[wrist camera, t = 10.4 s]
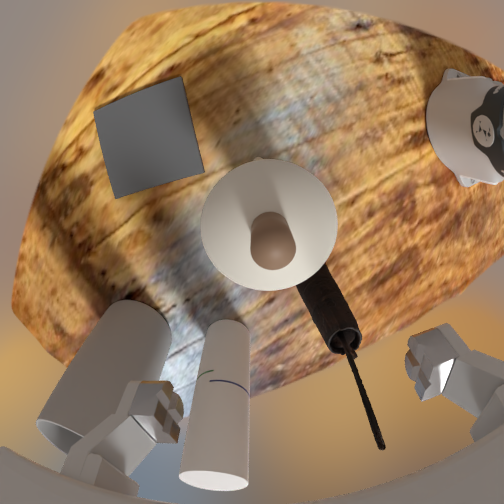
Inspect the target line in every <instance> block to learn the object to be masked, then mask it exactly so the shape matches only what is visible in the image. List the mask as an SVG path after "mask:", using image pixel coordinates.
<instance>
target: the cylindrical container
mask: <svg viewBox="0 0 504 504" xmlns="http://www.w3.org/2000/svg"><path fill="white" fill-rule="evenodd" d="M249 403H250V332H249V330H248V329H247V328H246V326H244V325H243V324H242V323H240V322H238V321H235V320H230V319H224V320H219V321H216V322H214V323H213V324H211V325H210V326H209V328H208V330H207V333H206V338H205V342H204V347H203V352H202V356H201V361H200V366H199V371H198V376H197V381H196V386H195V391H194V396H193V401H192V406H191V411H190V416H189V423H188V427H187V433H186V438H185V443H184V449H183V455H182V460H181V466H180V473H179V478H180V479H181V480H182V481H183V482H185V483H187V484H190V485H192V486H195V487H198V488H202V489H208V490H217V491H232V490H238V489H242V488H245V487H246V486H248V477H249V472H248V471H249Z"/></svg>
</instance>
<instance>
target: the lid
mask: <svg viewBox="0 0 504 504" xmlns="http://www.w3.org/2000/svg"><path fill="white" fill-rule="evenodd" d="M337 227H338V223H337V213H336V208H335V205H334V203H333V200H332V198H331V196H330V194H329V192H328V191H327V189H326V188H325V186H324V185H323V184H322V183H321V182H320V181H319V180H318V178H316V177H315V176H314V175H313V174H311V173H310V172H309V171H307V170H305V169H304V168H302V167H300V166H298V165H296V164H293V163H291V162H287V161H283V160H277V159H262V160H255V161H251V162H248V163H245V164H243V165H240V166H238V167H236V168H235V169H233V170H231V171H230V172H228V173H227V174H226V175H225V176H224V177H222V178H221V180H220V181H219V182H218V183H217V184H216V185H215V186H214V188H213V189H212V191H211V192H210V194H209V196H208V197H207V199H206V201H205V204H204V207H203V210H202V215H201V226H200V229H201V238H202V242H203V245H204V248H205V251H206V253H207V255H208V257H209V259H210V260H211V262H212V263H213V264H214V266H215V267H216V268H217V269H218V270H219V271H220V272H221V273H222V274H223V275H224V276H226V277H227V278H228V279H230V280H232V281H233V282H235V283H237V284H239V285H241V286H244V287H247V288H251V289H256V290H264V291H272V290H281V289H285V288H289V287H292V286H295V285H297V284H299V283H301V282H303V281H305V280H307V279H308V278H309V277H311V276H312V275H313V274H315V273H316V272H317V271H318V270H319V269H320V268H321V267H322V265H323V264H324V263H325V262H326V260H327V259H328V257H329V255H330V253H331V251H332V249H333V246H334V244H335V240H336V236H337Z"/></svg>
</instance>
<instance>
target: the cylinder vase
mask: <svg viewBox="0 0 504 504" xmlns="http://www.w3.org/2000/svg"><path fill="white" fill-rule="evenodd" d="M171 342H172V335H171V331H170V328H169V326H168V324H167V322H166V321H165V319H164V318H163V317H162V316H161V315H160V314H159V313H158V312H157V311H156V310H154V309H153V308H151V307H150V306H148V305H146V304H144V303H141V302H138V301H134V300H121V301H118V302H115V303H113V304H112V305H111V306H109V308H108V309H107V310H106V312H105V313H104V314H103V316H102V317H101V319H100V320H99V321H98V323H97V324H96V326H95V327H94V329H93V330H92V331H91V333H90V334H89V336H88V337H87V339H86V340H85V342H84V343H83V345H82V346H81V348H80V349H79V351H78V352H77V354H76V355H75V357H74V358H73V360H72V361H71V363H70V365H69V366H68V368H67V369H66V371H65V372H64V374H63V376H62V378H61V379H60V381H59V382H58V384H57V386H56V387H55V389H54V391H53V392H52V394H51V396H50V397H49V399H48V401H47V403H46V404H45V406H44V408H43V410H42V411H41V413H40V415H39V417H38V419H37V420H36V426H37V428H38V429H39V431H40V432H41V433H42V435H43V436H44V437H45V438H46V439H47V440H48V441H49V442H50V443H52V444H53V445H54V446H55V447H57V448H58V449H59V450H60V451H62V452H63V453H65V454H66V455H68V453H69V450H70V448H71V446H73V445H74V444H75V443H76V442H78V441H79V440H80V439H81V438H83V437H84V436H85V435H86V434H88V433H89V432H90V431H91V430H93V429H94V428H95V427H96V426H98V425H99V424H100V423H101V422H103V421H104V420H105V419H106V418H108V417H109V416H110V415H111V414H115V413H116V411H117V408H118V406H119V403H120V401H121V399H122V396H123V394H124V391H125V389H126V387H127V384H128V383H129V382H130V381H159V379H160V376H161V373H162V370H163V367H164V364H165V361H166V358H167V355H168V352H169V349H170V346H171Z"/></svg>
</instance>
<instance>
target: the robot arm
mask: <svg viewBox="0 0 504 504" xmlns="http://www.w3.org/2000/svg"><path fill="white" fill-rule="evenodd" d="M426 121H427V130H428V134H429V138H430V141H431V144H432V146H433V149H434V151H435V153H436V154H437V156H438V157H439V159H440V160H441V161H442V163H443V164H444V165H445V166H447V167H448V168H449V169H450V170H452V171H453V172H454V174H455V176H456V178H457V180H458V181H459V183H460V184H461V186H463V187H470V186H472V185H474V184H476V183H478V182H485V183H488V184H492V185H497V183H498V182H501V181H503V180H504V85H503V84H502V83H501V82H498V81H492V79H491V78H487V77H484V76H472V77H471V76H469V75H467V74H464V73H462V72H460V71H457V70H455V69H446V70H445V72H444V75H443V79H442V82H441V83H440V85H439V86H437V87H436V88H435V90H434V91H433V92H432V94H431V96H430V98H429V101H428V105H427V113H426ZM408 346H409V348H410V349H409V351H408V352H407V353H406V356H405V368H406V371H407V374H408V376H409V378H410V379H411V380H413V381H415V382H416V384H415V390H416V392H417V394H418V396H419V397H420V400H421V401H425V400H427V399H430V398H432V397H435V396H437V395H440V394H442V395H443V396H445V397H446V398H448V399H449V400H451V401H452V402H454V403H455V404H457V405H458V406H460V407H462V408H463V409H465V410H466V411H468V412H469V413H471V414H473V415H474V416H476V417H477V418H478V419H477V421H476V422H475V423H474V425H473V426H472V428H471V430H470V433H471V436H472V438H473V440H474V443H472V444H471V445H469V446H467V447H466V448H464V449H462V450H460V451H458V452H456V453H455V454H453V455H451V456H449V457H447V458H445V459H443V460H441V461H439V462H436V463H434V464H432V465H430V466H428V467H425V468H423V469H421V470H418V471H416V472H414V473H411V474H409V475H406V476H403V477H401V478H398V479H395V480H392V481H390V482H387V483H384V484H380V485H377V486H374V487H371V488H367V489H364V490H360V491H357V492H353V493H348V494H344V495H340V496H335V497H331V498H325V499H320V500H314V501H308V502H301V503H294V504H504V361H501V360H499V359H496V358H494V357H491V356H489V355H486V354H483V353H481V352H479V351H476V350H473V351H471V350H470V349H469V348H468V347H467V345H466V344H465V343H464V341H463V340H462V339H461V338H460V336H459V335H458V334H457V333H456V332H455V330H454V329H453V328H452V327H451V326H450V325H449V324H448V323H445V324H442V325H440V326H437V327H435V328H431V329H429V330H426V331H423V332H421V333H418V334H415V335H412V336H410V338H409V340H408ZM173 388H174V387H173V385H172V384H171V382H170V381H130V382H129V383H128V384H127V387H126V389H125V391H124V394H123V396H122V399H121V401H120V403H119V406H118V408H117V411H116V413H115V414H111V415H110V416H109V417H108V418H106V419H105V420H104V421H103V422H101V423H100V424H99V425H98V426H96V427H95V428H94V429H93V430H91V431H90V432H89V433H88V434H86V435H85V436H84V437H83V438H81V439H80V440H79V441H78V442H76V443H75V444H74V445H73V446H71V448H70V450H69V453H68V455H67V458H66V460H65V462H64V465H63V467H62V470H61V473H58V472H56V471H53V470H51V469H49V468H46V467H44V466H42V465H40V464H38V463H36V462H34V461H32V460H30V459H28V458H26V457H24V456H22V455H20V454H18V453H16V452H15V451H13V450H11V449H9V448H7V447H0V504H176V503H169V502H162V501H155V500H150V499H145V498H140V497H137V494H138V490H139V485H138V484H137V483H136V482H135V481H133V480H132V479H131V478H129V477H128V476H129V475H130V474H131V473H132V472H133V471H134V469H135V468H136V467H137V466H138V465H139V464H140V463H141V462H142V460H143V459H144V458H145V457H146V456H147V455H148V453H149V452H150V451H151V450H152V449H153V447H154V446H155V445H156V443H178V438H179V433H180V427H179V425H178V422H180V421H181V420H182V419H183V414H184V408H183V402H182V400H181V398H180V396H179V395H178V394H176V393H175V392H173Z"/></svg>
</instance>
